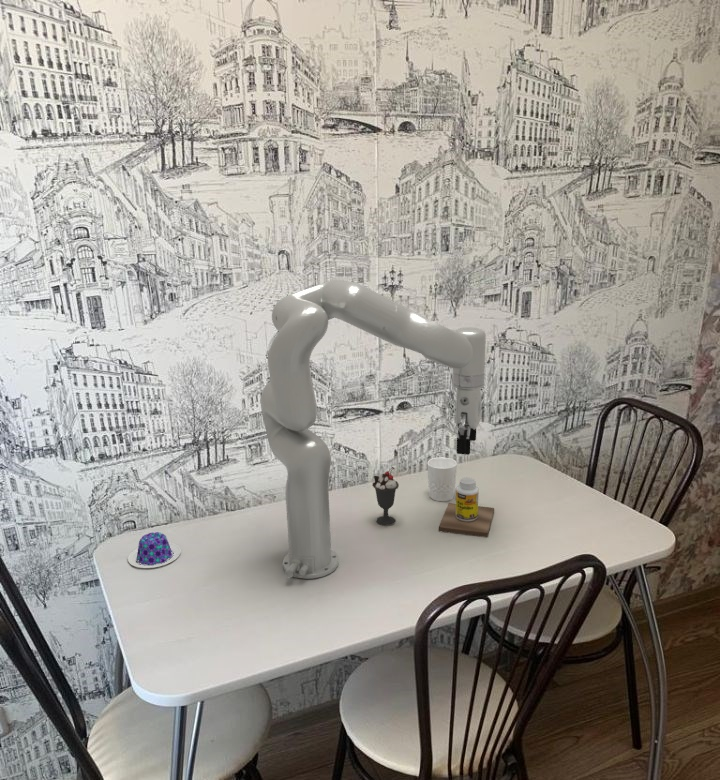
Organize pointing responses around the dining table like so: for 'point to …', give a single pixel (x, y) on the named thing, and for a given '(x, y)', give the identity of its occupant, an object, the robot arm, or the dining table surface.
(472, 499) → the supplement bottle
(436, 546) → the dining table surface
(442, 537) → the dining table surface
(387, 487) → the sundae
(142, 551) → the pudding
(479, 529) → the walnut board
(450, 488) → the white cup
